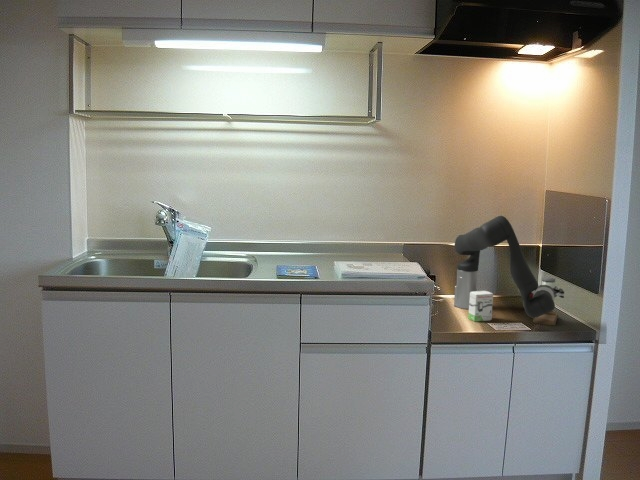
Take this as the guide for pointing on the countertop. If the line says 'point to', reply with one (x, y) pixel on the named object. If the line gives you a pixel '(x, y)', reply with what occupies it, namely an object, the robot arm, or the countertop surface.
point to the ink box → (480, 306)
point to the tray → (547, 318)
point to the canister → (548, 281)
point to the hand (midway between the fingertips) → (548, 287)
